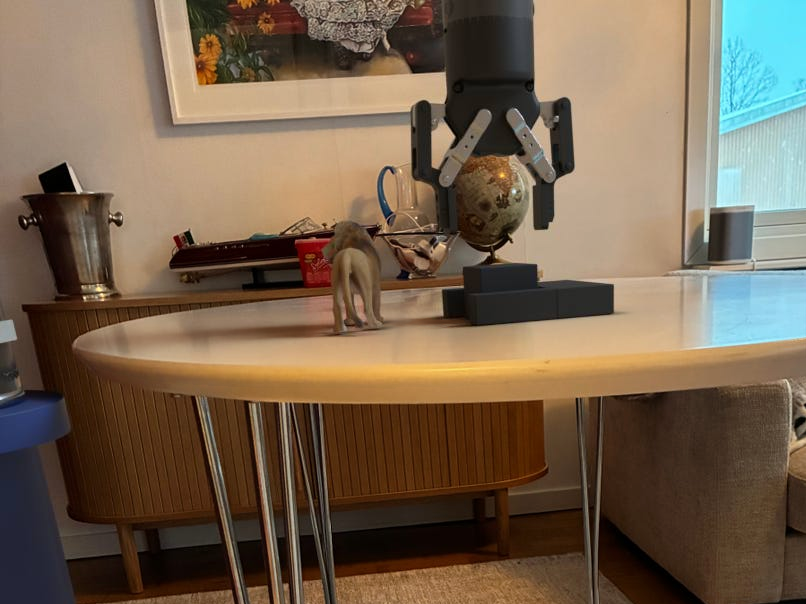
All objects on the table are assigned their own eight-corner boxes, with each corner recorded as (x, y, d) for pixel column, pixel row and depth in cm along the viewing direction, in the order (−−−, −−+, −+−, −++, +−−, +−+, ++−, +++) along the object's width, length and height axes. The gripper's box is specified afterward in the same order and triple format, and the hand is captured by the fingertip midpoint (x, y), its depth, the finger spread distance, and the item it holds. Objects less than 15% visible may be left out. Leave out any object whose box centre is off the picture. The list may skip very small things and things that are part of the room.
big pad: (476, 325, 83) (474, 295, 82) (443, 316, 93) (441, 289, 92) (614, 313, 86) (614, 284, 85) (568, 306, 96) (567, 279, 95)
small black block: (482, 322, 86) (480, 268, 84) (465, 317, 90) (462, 266, 89) (539, 317, 87) (537, 263, 85) (519, 313, 92) (517, 262, 90)
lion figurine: (328, 322, 94) (317, 222, 90) (383, 318, 95) (374, 219, 91) (333, 337, 80) (320, 220, 77) (396, 332, 81) (386, 216, 78)
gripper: (552, 29, 84) (555, 229, 91) (394, 29, 81) (409, 237, 87) (585, 11, 78) (586, 228, 84) (415, 10, 74) (429, 236, 81)
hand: (496, 232), depth 86 cm, fingers open, 8 cm apart
